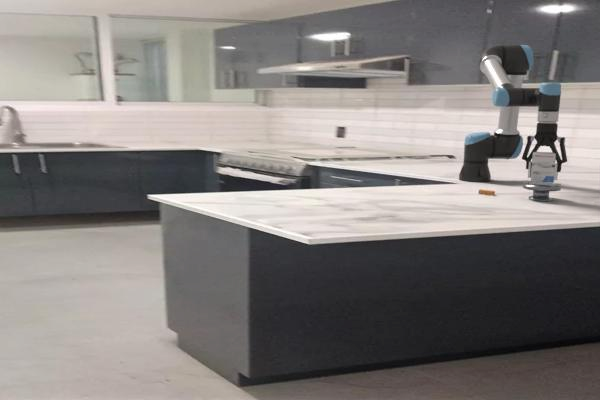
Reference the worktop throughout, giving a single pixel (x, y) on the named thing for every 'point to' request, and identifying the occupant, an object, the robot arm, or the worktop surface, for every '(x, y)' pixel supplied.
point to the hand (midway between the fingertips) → (542, 178)
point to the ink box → (543, 167)
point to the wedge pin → (487, 192)
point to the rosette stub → (541, 190)
